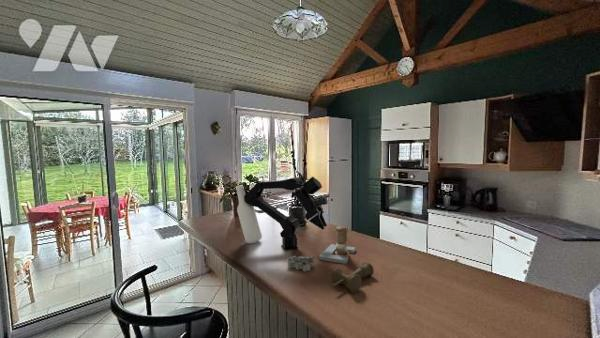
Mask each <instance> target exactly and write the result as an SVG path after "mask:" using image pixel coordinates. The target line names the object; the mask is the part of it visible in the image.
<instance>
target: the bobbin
mask: <svg viewBox="0 0 600 338" xmlns="http://www.w3.org/2000/svg"><path fill="white" fill-rule="evenodd" d="M335 231H336V244H335V245H336V248H337V251H336V252H335V253H334V255H338V256H345V257H348V258H349V257H350V253H349V252H348V248H347V246H348V227H347V226H344V225H338V226H336V227H335Z"/></svg>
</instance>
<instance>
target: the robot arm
mask: <svg viewBox="0 0 600 338" xmlns="http://www.w3.org/2000/svg"><path fill="white" fill-rule="evenodd" d="M322 188H323V186H322V183H321V182H320V181H319V180H318V179H317V178H315V177H314V176H311V177H310V178H308V179H307V181H303V180H301V179H300V178H299V177H297V176H296V177H294V176H293V177H291V178H288V179H282V180H268V181H267V180H266V181H264V180H261V181H257V182H256V183H255V184H254V186H252V187H251V189H249V191H248V192H245V193H246V194H245V196H244V201H245V202H246V203H247V204H249V205H251V206H254V208H255V207H256V208H258V209H259V210H261V211H262V212H263V213H264V214H266V215H268V216H269V217H270V218H272V219H273V220H274V221H276V222H277V223H278V224H279V225H280V227H281V229H282V231H280V232H279V235H280V237H281V238H282V239H281V241H282V243H281V245H280V246H281V248H283V250H285V251H289V250H294V249H298V237H297V233H298V231H299V230H300V228H301V223H300V221H299V219H298V218H295V216H293V215H292V214H290V215H285V214H284V213H283V212H281V211H279V210H278V209H277V208H275V207H274V206H273V205H271V204H270V203H269V202H267V201H265V199H264V198H263V196H262V194H263V193H264V190H274V189H283V190H286V191H291V195H290V198H291V199H293V198H295V197H296V200H298V203H300V207H301V208H303V209H304V211H305V212H306V213H305V215H304V219H306V221H308V222H309V223H311V224H312V225H315V226H316V227H318V228H319V229H321V230H322V231H323V230H325V229H326V228H325V227H327V225H328V224H327V223H326V220H325V218H324V215H323V214H324V208H323V207H322V205H324V206H325V205H328V200H327V197H324V196H323V195H322V196H319V197H318V199H314V198H313V197H311V196H310V195H312V196H313V195H315V194H316V193H317V192H319V191H320V190H321V189H322Z"/></svg>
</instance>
